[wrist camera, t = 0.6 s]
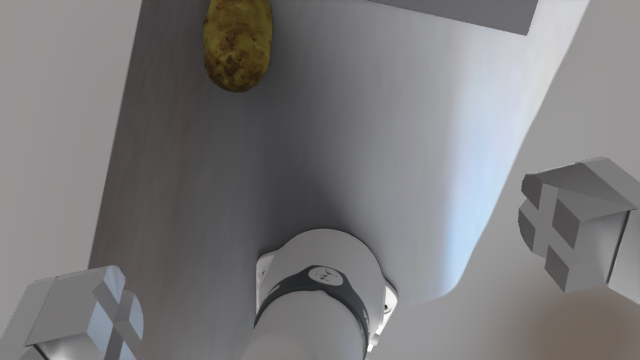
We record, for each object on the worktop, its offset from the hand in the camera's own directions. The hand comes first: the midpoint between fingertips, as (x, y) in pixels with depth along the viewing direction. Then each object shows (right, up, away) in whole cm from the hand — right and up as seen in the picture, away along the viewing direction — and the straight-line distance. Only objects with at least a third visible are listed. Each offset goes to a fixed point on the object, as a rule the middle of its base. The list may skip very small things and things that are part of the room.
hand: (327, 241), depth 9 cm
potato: (-8, +19, +46) cm, 50 cm away
